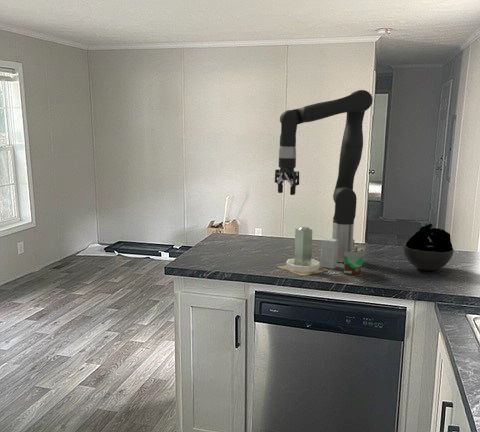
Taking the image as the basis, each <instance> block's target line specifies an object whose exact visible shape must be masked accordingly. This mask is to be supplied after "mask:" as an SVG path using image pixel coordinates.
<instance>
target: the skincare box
mask: <svg viewBox="0 0 480 432" xmlns="http://www.w3.org/2000/svg"><path fill="white" fill-rule="evenodd" d="M337 243H338V240H335V239H332V238H323V239H321V244H320V267H321V268H324V269H333V270H334V269H335V268H336V267H337V263H338V262H337Z"/></svg>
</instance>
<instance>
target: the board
mask: <svg viewBox="0 0 480 432" xmlns="http://www.w3.org/2000/svg"><path fill="white" fill-rule="evenodd" d="M277 269H281V270H283V271H285V272H289V273H291V274H294V275H297V276H299V277H303V276H310V275H313V274H319V273H324V272H328V271H329V269H328V268H325V267H321V266H319V270H318V271H316V272H311V273H300V272H293V271H290V270H288V269H287V267H286V264H284V265H280V266H277Z"/></svg>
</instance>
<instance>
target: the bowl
mask: <svg viewBox="0 0 480 432" xmlns="http://www.w3.org/2000/svg"><path fill="white" fill-rule="evenodd" d="M285 265H286V267H287V269H288V270H290V271H293V272H300V273H311V272H316V271H318V270H319V267H320V261H318V260H316V259H313V258H311V266H296V265H294V258H289V259H287V260H286V262H285Z"/></svg>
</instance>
